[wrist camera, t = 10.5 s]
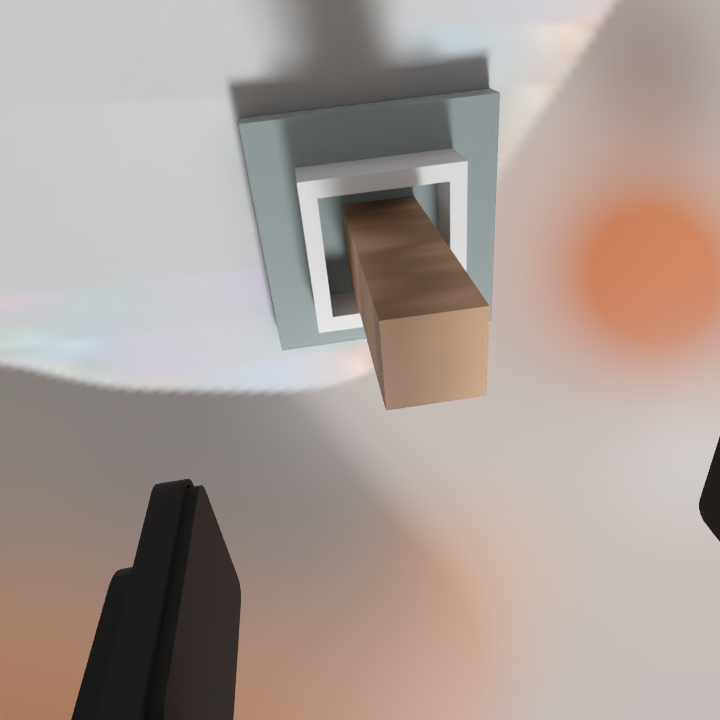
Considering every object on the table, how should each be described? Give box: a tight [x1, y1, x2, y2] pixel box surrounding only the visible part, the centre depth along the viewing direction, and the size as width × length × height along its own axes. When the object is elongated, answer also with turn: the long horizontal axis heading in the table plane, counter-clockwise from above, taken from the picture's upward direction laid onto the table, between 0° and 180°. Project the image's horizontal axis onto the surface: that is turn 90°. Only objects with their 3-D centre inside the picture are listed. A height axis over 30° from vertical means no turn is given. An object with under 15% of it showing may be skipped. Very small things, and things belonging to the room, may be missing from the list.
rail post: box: [342, 196, 490, 410], centre depth 25 cm, size 4×4×12 cm
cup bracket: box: [238, 88, 500, 350], centre depth 29 cm, size 12×12×4 cm
